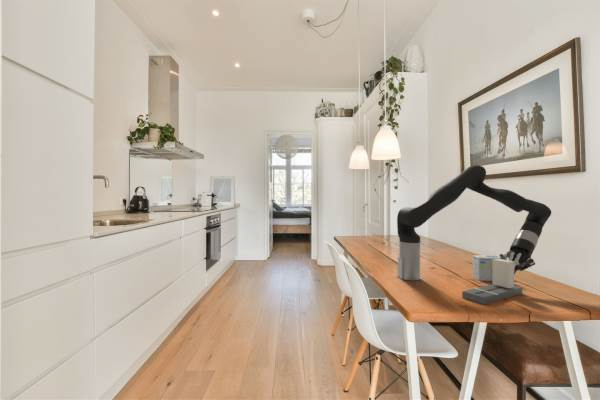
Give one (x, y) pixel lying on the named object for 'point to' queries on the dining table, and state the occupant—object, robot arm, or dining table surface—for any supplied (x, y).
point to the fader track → (490, 293)
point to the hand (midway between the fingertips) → (508, 276)
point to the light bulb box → (483, 267)
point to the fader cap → (503, 273)
